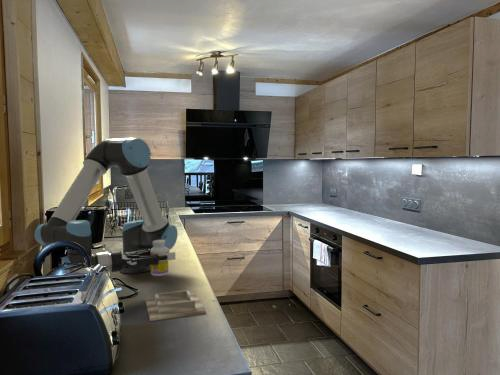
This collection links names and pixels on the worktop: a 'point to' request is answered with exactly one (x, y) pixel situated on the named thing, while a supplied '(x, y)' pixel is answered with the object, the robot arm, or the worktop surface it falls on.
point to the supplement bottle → (163, 265)
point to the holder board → (174, 305)
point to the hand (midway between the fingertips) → (171, 253)
